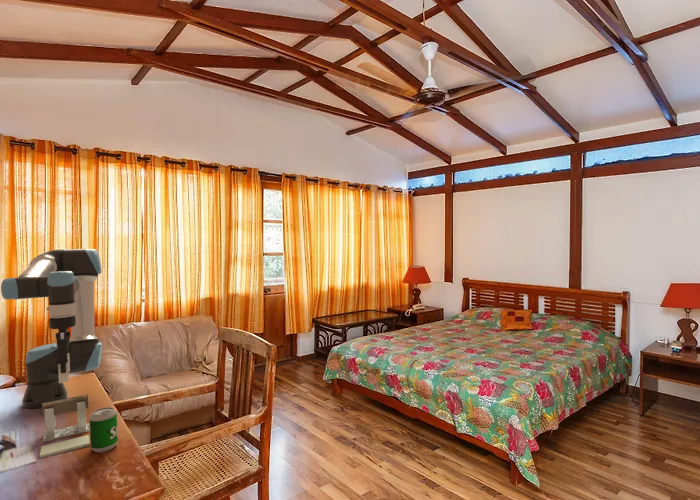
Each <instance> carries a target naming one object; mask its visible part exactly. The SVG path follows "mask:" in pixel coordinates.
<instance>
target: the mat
mask: <svg viewBox="0 0 700 500" xmlns="http://www.w3.org/2000/svg"><path fill="white" fill-rule="evenodd" d="M89 446H90V447H91V440H90V435H89V434H88V435H83V436H78V437H74V438H70V439H66V440H65V439H64V440H61V441H57V442H53V443H49V444H44V445H41V447H40V451H39V455H38V456H39V458H40V459H41V458H46V457H50V456H53V455H58V454H61V453H65V452H70V451H73V450H77V449H82V448H86V447H89Z"/></svg>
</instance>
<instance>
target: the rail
mask: <svg viewBox="0 0 700 500" xmlns="http://www.w3.org/2000/svg"><path fill="white" fill-rule="evenodd" d="M82 401H85V405H86V410H87V409H89V395H88V394H85V395H79V396H74V397H73V396H72V397H69V398H68V397H67V398H66V399H62V400H57V401H52V402H47V403H43V404H42V407H41V413H42V414H41V416H42V418H44V419H45V409H47V408H52V407H54V415H55V416H57V415H63V414H67V413H72V412H76V411H77V402H82Z"/></svg>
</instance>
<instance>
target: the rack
mask: <svg viewBox="0 0 700 500" xmlns="http://www.w3.org/2000/svg"><path fill="white" fill-rule="evenodd" d="M76 414H77V424H76V425H71V426H67V427H62V428H58V429H57V428H56V427H57V426H56V415H54V407H52V408H47V409H45V417H44V426H45V431H44V433H43V439H42V443H45V442H46V443H47V442H49V441H54V440H59V439H63V438H66V437H71V436H76V435H80V434H83V433H88V432H89V433H90V421H89V422H87V409H86V405H85V401H82V402H77V413H76Z"/></svg>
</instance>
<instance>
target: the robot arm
mask: <svg viewBox="0 0 700 500" xmlns="http://www.w3.org/2000/svg"><path fill="white" fill-rule="evenodd" d="M101 274H102V263H101V258H100V254H99V251H98V250H97V249H96V248H69V249H66V248H65V249H64V248H63V249H52V250H49V251H45V252H43V253H41V254H39V255H37V256H35V257H33V259H31V261H30V262H29V264H28V267H27V268H26V269H25V270H24V271H23V272H22V273H21V274H20V275H19V276H17V277H9V278H4V279H3V280H2V281H1V286H0V292H1V296H2V298H3V299H4V300H16V301H17V300H25V299H36V298H48V303H47V304H48V307H46V311H48V316H49V317H50V318H49V319H48V327H49V329H50V330H58V332H56V333H55V339H56V342H54V343H49V344H43V345H40V346H36V347H34V348H32V349H30V350H28V351H27V352H26V354H25V371H26V389H25V392H24V394H23V397H22V400H21V401H22V402H21V403H22V404H21V407H22V408H24V409H39V408H41V409H42V404H43V403H47V402H52V401H57V400H62V399H68V390H67V388H66V387H65V383H68V382H69V381H70V377H69V375H70V374H75V373H82V372H89V371H94V370H98V369H99V367H100V365H101V362H102V356H103V346H104V345H103V342H101V341H99V337H97V336H96V334H95V281H97V279H99V275H101ZM69 329H70V330H69Z"/></svg>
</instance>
